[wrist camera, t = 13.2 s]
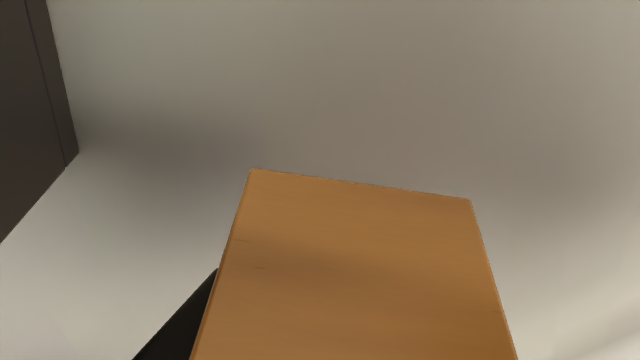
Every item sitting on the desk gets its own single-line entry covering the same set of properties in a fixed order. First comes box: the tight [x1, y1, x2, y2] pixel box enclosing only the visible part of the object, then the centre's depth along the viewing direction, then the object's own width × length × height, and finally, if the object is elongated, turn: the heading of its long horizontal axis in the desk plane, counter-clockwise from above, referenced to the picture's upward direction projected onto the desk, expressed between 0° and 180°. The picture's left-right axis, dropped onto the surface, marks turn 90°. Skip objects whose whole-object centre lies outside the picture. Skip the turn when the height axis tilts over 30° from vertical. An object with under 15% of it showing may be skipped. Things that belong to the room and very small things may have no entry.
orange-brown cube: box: [189, 168, 518, 360], centre depth 8 cm, size 4×4×4 cm
